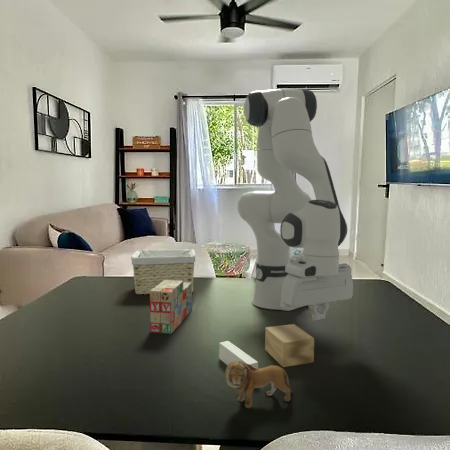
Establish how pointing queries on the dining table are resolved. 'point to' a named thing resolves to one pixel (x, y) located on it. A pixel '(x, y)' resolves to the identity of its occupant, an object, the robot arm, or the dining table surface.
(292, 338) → the oak block
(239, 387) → the lion figurine
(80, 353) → the dining table surface
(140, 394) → the dining table surface
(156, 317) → the stack of blocks
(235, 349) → the fence board
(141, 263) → the storage basket
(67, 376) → the dining table surface
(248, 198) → the robot arm
